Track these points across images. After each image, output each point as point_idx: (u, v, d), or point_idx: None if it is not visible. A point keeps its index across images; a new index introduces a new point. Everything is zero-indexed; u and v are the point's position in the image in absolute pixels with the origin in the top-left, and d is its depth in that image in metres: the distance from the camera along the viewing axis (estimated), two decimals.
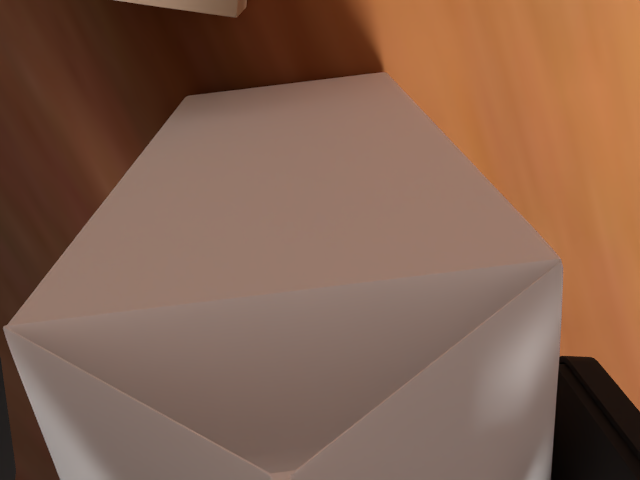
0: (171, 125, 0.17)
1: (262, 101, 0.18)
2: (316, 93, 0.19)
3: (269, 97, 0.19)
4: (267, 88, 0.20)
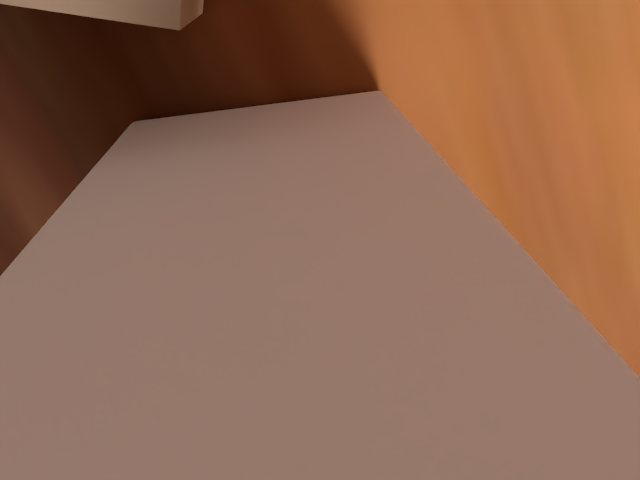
0: (102, 169, 0.13)
1: (225, 132, 0.14)
2: (295, 121, 0.15)
3: (235, 126, 0.15)
4: (234, 112, 0.16)
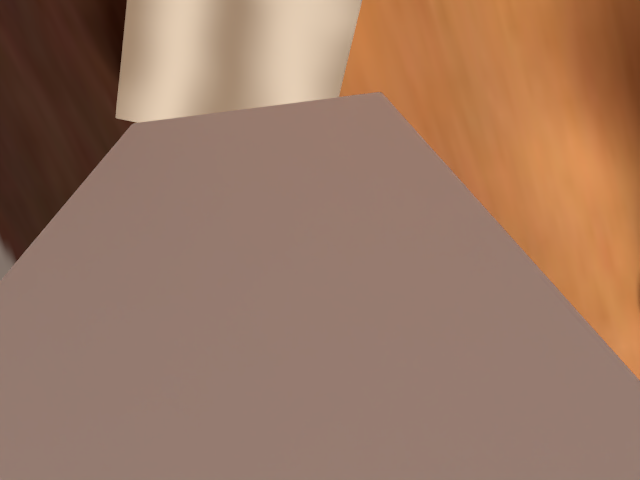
0: (102, 172, 0.13)
1: (225, 134, 0.14)
2: (295, 123, 0.15)
3: (235, 128, 0.15)
4: (234, 114, 0.16)
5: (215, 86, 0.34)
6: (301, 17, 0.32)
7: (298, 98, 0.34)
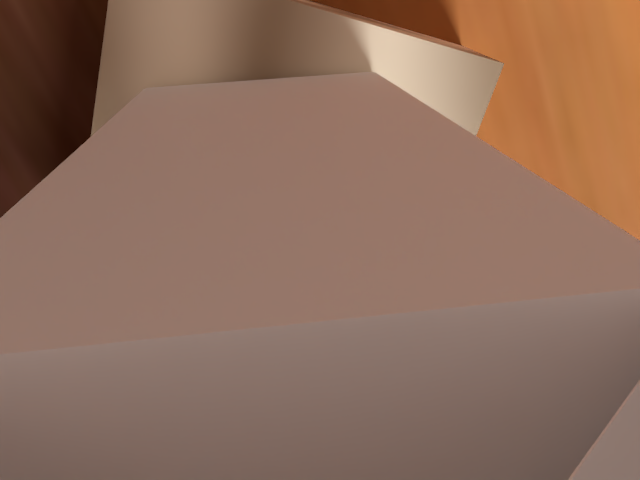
0: (125, 114, 0.14)
1: (235, 94, 0.16)
2: (298, 88, 0.16)
3: (243, 90, 0.16)
4: (240, 82, 0.18)
5: None
6: None
7: None
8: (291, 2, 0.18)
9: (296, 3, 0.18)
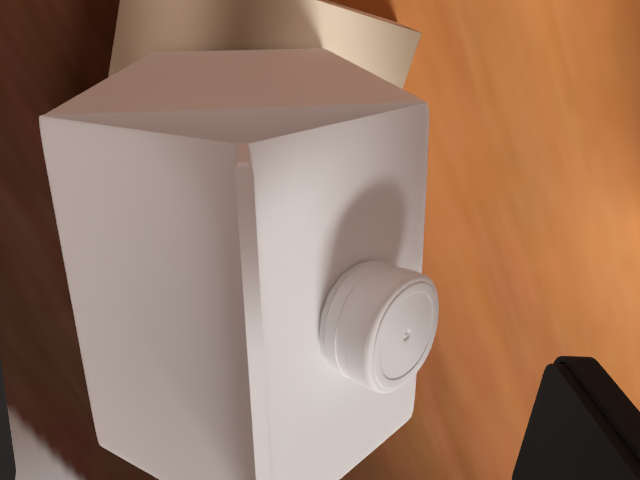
0: (142, 61, 0.20)
1: (219, 55, 0.22)
2: (265, 53, 0.22)
3: (225, 54, 0.22)
4: (223, 51, 0.24)
5: None
6: None
7: None
8: None
9: None
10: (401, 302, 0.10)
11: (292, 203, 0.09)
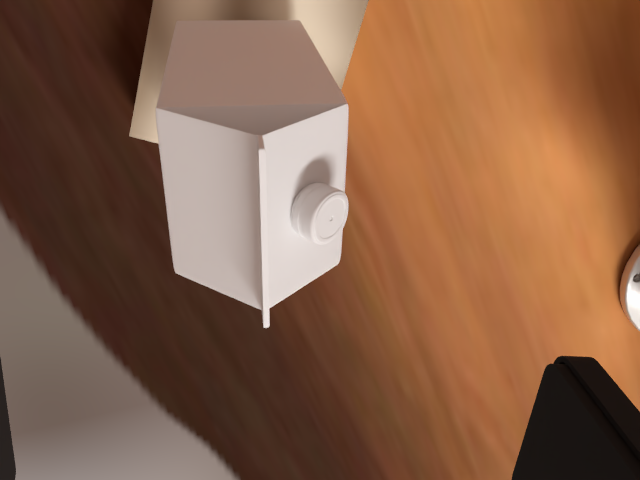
0: (178, 39, 0.30)
1: (227, 30, 0.32)
2: (258, 29, 0.32)
3: (231, 28, 0.32)
4: (228, 22, 0.34)
5: None
6: None
7: None
8: None
9: None
10: (328, 203, 0.22)
11: (280, 158, 0.21)
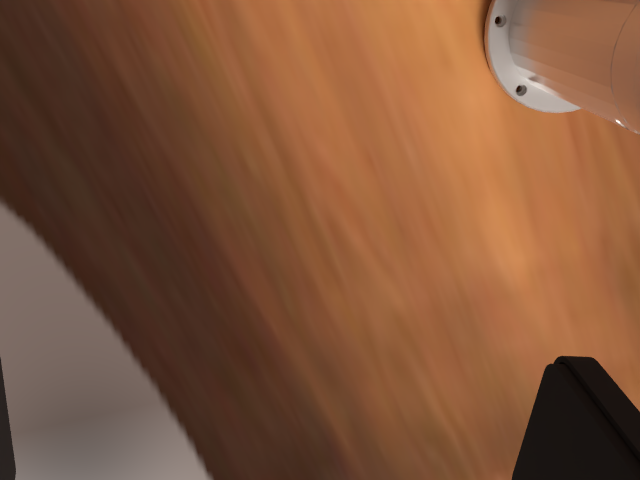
0: None
1: None
2: None
3: None
4: None
5: None
6: None
7: None
8: None
9: None
10: None
11: None
